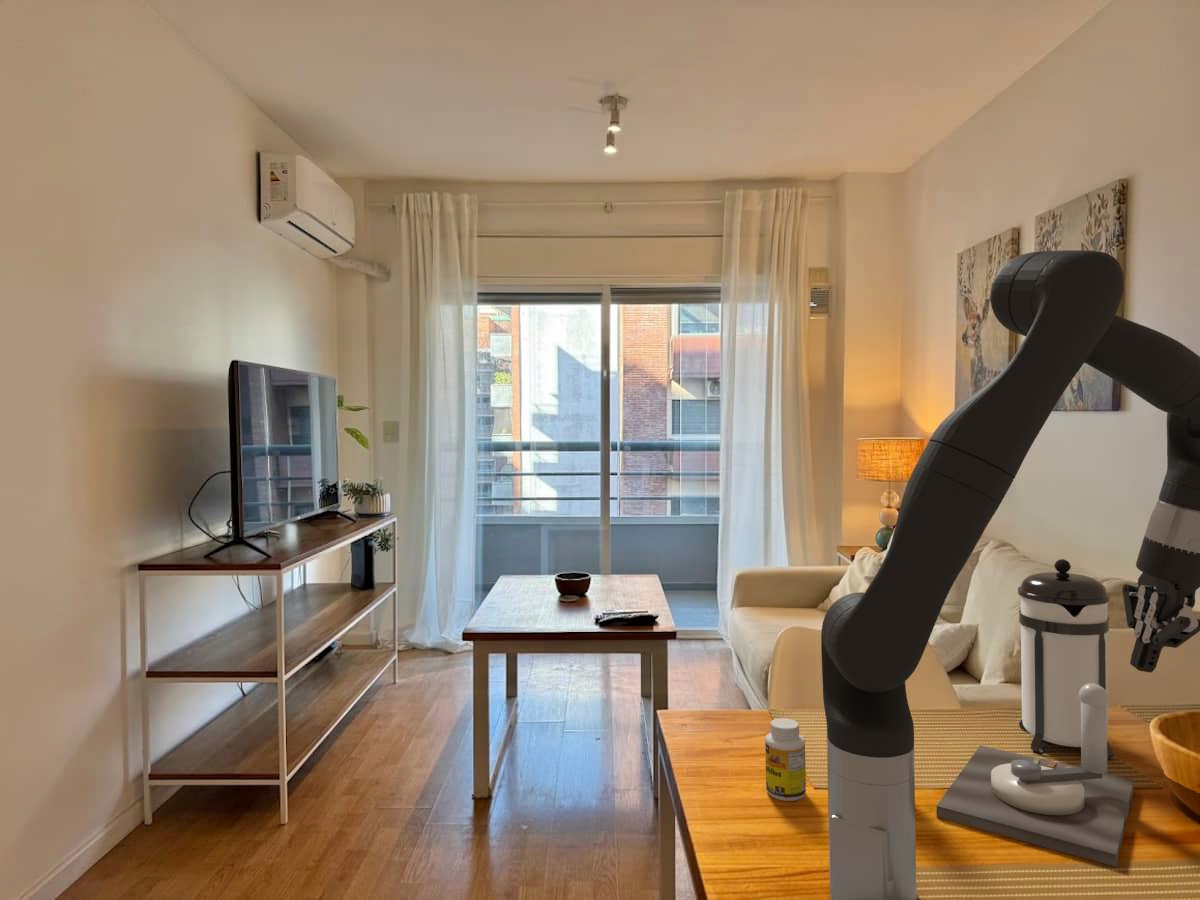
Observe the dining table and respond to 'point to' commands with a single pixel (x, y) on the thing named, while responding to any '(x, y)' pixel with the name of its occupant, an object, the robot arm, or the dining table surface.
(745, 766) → the dining table surface
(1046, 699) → the coffee press
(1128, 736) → the dining table surface
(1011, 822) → the dial board
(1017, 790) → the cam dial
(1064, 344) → the robot arm
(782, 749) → the supplement bottle
